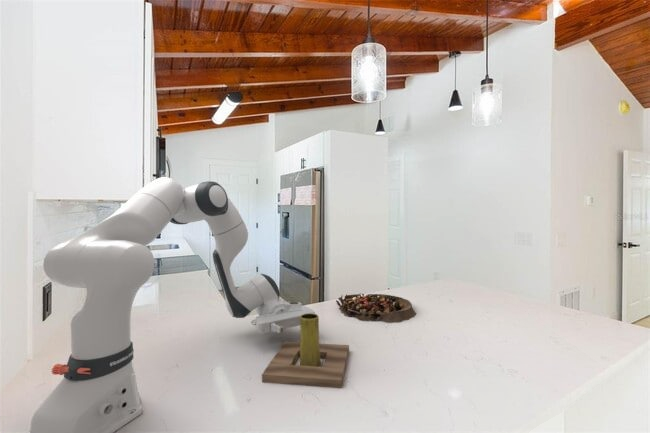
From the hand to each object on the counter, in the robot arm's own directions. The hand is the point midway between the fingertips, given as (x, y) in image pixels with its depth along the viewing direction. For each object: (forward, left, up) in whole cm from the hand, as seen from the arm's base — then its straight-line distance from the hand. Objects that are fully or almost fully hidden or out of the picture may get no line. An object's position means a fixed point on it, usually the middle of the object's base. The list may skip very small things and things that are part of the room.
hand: (295, 327), depth 101 cm
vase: (-7, -6, -8) cm, 13 cm away
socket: (-7, -6, -8) cm, 13 cm away
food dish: (+46, -24, -9) cm, 53 cm away
